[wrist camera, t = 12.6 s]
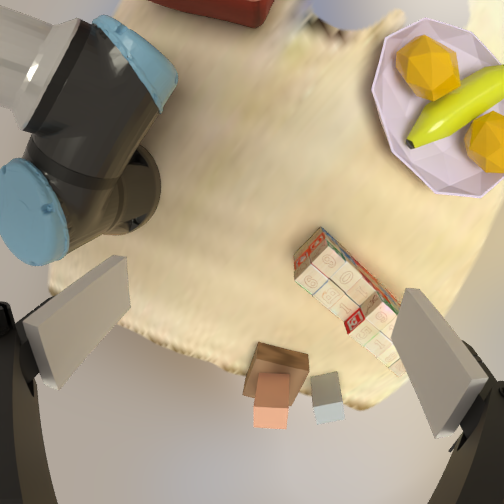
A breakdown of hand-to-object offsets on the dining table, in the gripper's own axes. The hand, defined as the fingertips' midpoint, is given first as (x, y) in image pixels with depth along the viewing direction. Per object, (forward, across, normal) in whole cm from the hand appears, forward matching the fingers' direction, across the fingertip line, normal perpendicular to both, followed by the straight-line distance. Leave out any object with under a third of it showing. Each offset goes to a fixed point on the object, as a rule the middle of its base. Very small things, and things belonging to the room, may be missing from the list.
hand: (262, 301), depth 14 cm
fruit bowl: (+32, +25, +18) cm, 44 cm away
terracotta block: (+27, +3, -30) cm, 40 cm away
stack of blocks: (+32, +14, -12) cm, 37 cm away
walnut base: (+32, +3, -30) cm, 44 cm away
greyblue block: (+32, +13, -33) cm, 48 cm away
